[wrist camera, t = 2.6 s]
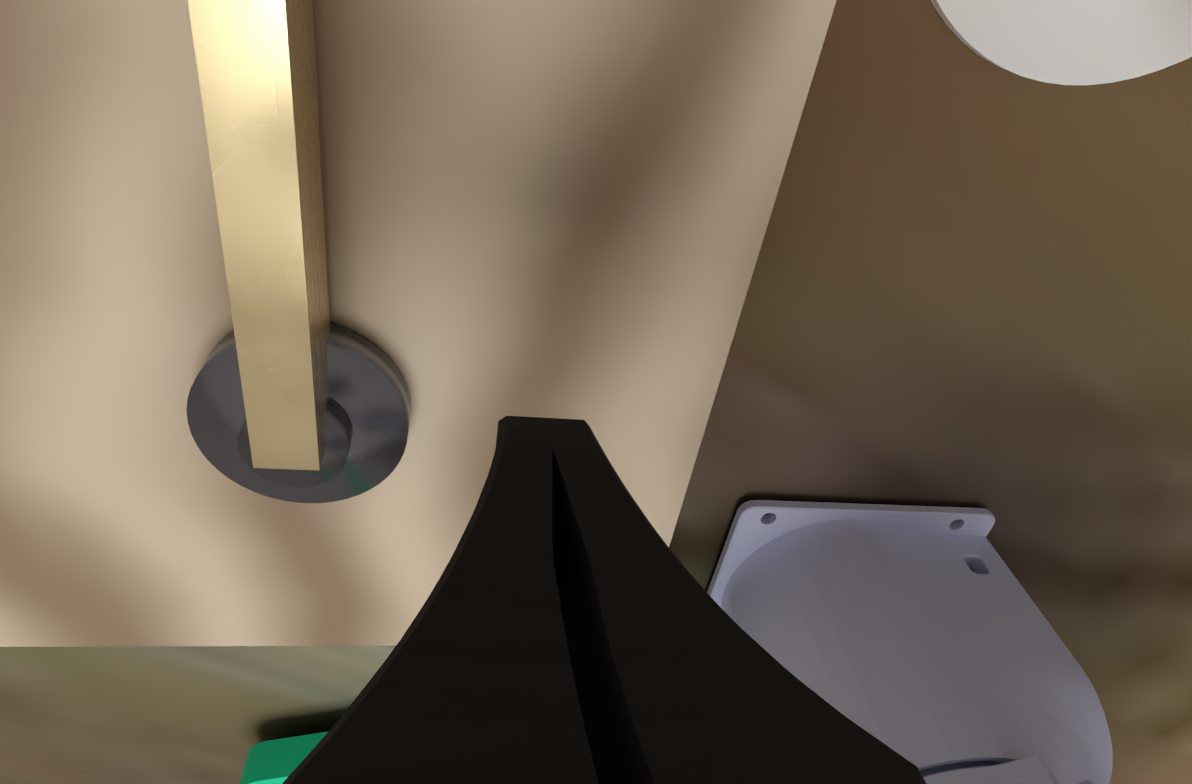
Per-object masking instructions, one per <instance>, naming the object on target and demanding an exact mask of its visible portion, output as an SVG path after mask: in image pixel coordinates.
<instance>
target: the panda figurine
mask: <svg viewBox="0 0 1192 784" xmlns="http://www.w3.org/2000/svg"><path fill="white" fill-rule="evenodd" d="M930 1H931V3H932V4H933V6H934V8H935V10H936V11H937V13H938V14H939V15H940V17H941V18H942V19H943V21H944V22H945V23H946V25H947V26H948V28H949V29H950V30H951V31H952V32H953V33H954V34H955V35H956V36H957V37H958V38H959V39H960V40H961V41H962V42H963V43H964V44H965V45H967V46H968V47H969V48H970V49H972V50H973V51H974V52H975V53H976V54H978V55H979V56H981V57H983V58H984V59H986V60H988V61H989V62H991V63H993V64H994V65H996V66H998V67H1001V68H1003V69H1006V70H1008V71H1010V72H1013V73H1015V74H1017V75H1020V76H1022V77H1026V78H1030V79H1033V80H1037V81H1041V82H1046V83H1053V84H1061V85H1095V84H1104V83H1113V82H1117V81H1122V80H1127V79H1131V78H1136V77H1139V76H1142V75H1146V74H1149V73H1152V72H1155V71H1158V70H1161V69H1164V68H1166V67H1169V66H1171V65H1174V64H1176V63H1179V62H1181V61H1183V60H1186V59H1188V58H1190V57H1192V0H930Z"/></svg>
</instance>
